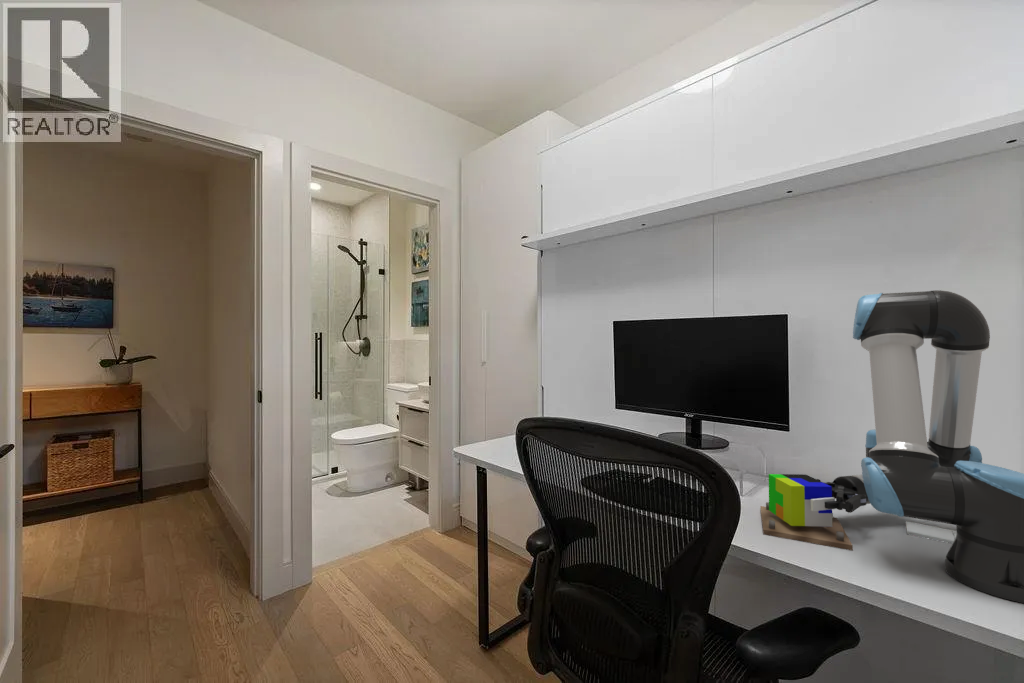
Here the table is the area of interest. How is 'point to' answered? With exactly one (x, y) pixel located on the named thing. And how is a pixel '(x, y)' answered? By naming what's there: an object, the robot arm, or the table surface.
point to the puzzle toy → (798, 499)
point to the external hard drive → (930, 532)
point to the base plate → (805, 531)
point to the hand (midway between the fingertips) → (789, 496)
